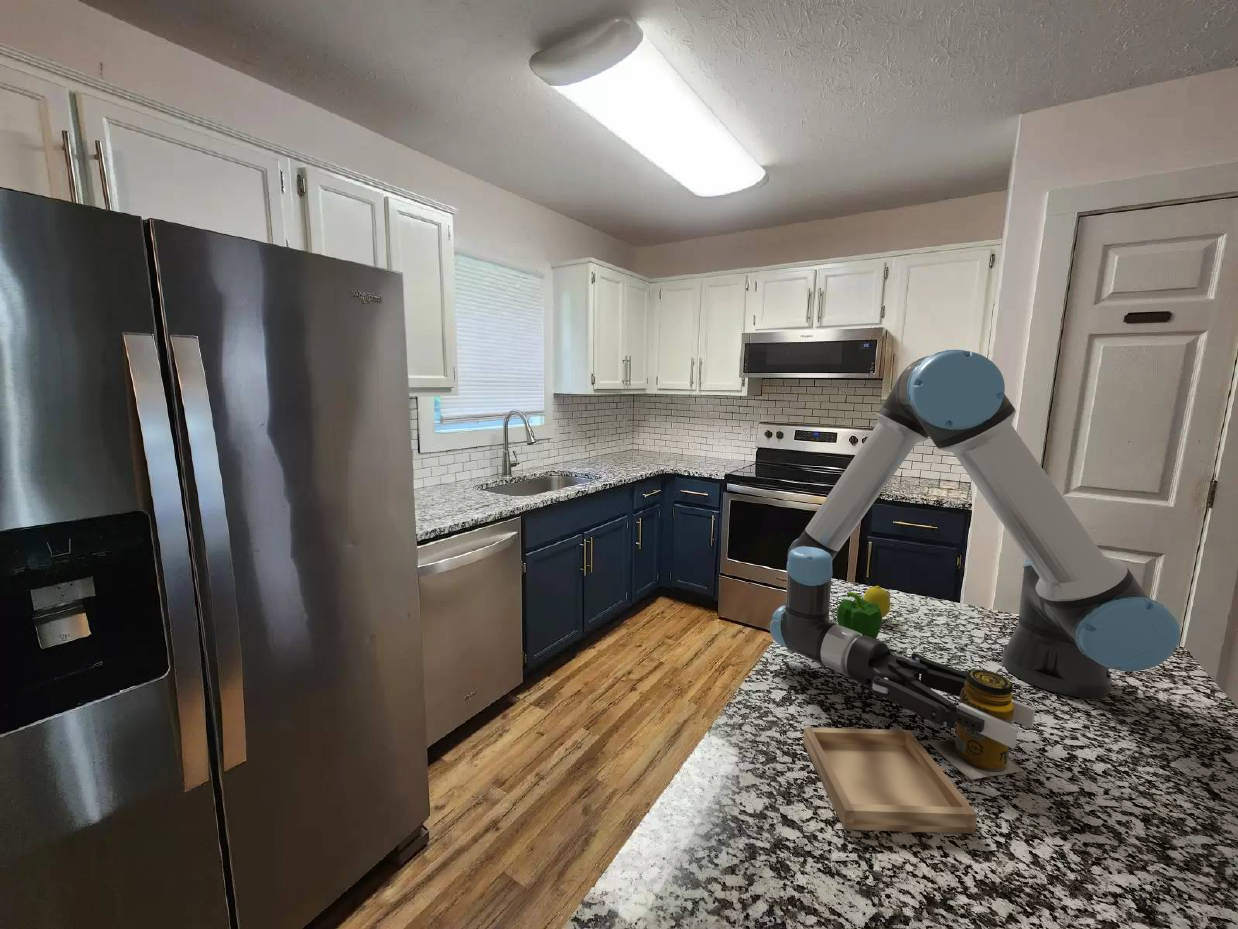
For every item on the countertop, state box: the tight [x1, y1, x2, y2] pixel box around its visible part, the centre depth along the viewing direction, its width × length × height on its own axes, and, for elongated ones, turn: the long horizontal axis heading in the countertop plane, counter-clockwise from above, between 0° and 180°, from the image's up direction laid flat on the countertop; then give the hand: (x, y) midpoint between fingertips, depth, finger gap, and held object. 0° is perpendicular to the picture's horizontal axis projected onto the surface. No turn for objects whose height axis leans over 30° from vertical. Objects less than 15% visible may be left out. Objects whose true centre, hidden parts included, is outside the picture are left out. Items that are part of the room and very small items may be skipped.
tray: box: [802, 726, 978, 835], centre depth 67 cm, size 15×15×2 cm
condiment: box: [928, 668, 1024, 780], centre depth 71 cm, size 7×8×12 cm
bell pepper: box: [836, 591, 883, 640], centre depth 106 cm, size 8×8×10 cm
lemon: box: [862, 585, 891, 619], centre depth 116 cm, size 6×6×8 cm
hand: (1024, 727), depth 68 cm, fingers closed on condiment, 6 cm apart
